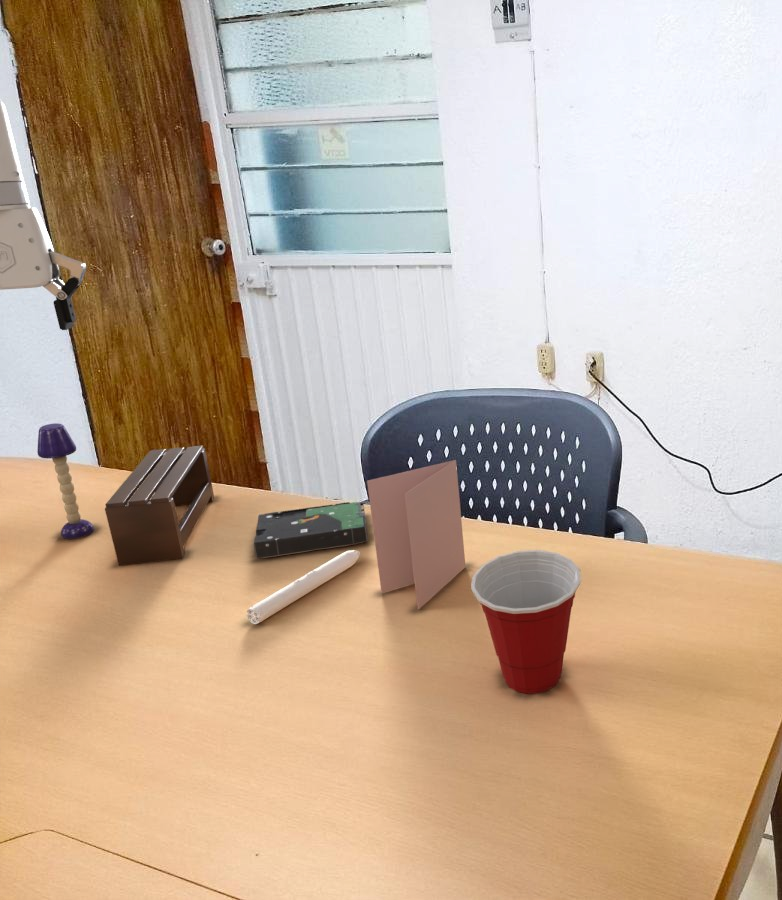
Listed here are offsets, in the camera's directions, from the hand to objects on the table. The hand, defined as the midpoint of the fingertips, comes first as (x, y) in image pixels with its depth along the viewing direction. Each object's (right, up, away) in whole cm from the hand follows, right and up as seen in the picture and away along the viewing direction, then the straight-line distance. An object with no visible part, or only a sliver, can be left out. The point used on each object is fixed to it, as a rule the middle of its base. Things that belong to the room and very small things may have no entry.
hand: (27, 330), depth 111 cm
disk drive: (+36, -29, +8) cm, 46 cm away
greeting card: (+56, -34, -7) cm, 66 cm away
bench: (+13, -28, +11) cm, 33 cm away
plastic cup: (+70, -40, -26) cm, 84 cm away
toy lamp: (0, -29, +11) cm, 30 cm away
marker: (+40, -34, -7) cm, 53 cm away
